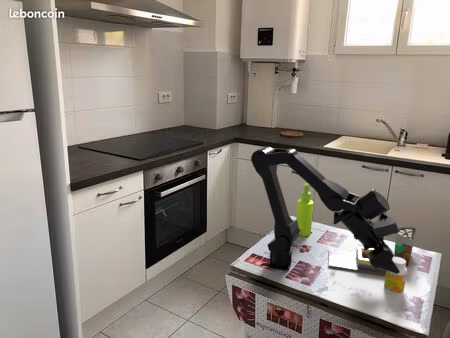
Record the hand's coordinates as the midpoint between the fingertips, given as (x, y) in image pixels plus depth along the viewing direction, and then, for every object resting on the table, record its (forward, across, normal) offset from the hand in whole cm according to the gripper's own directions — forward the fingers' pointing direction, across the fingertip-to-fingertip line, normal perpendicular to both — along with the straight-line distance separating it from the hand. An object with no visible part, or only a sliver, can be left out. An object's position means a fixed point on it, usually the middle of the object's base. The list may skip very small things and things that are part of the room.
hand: (394, 264), depth 109 cm
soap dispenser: (-12, +32, +23) cm, 42 cm away
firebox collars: (+1, +14, +11) cm, 18 cm away
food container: (+11, +21, +1) cm, 24 cm away
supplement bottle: (+7, 0, +6) cm, 9 cm away
